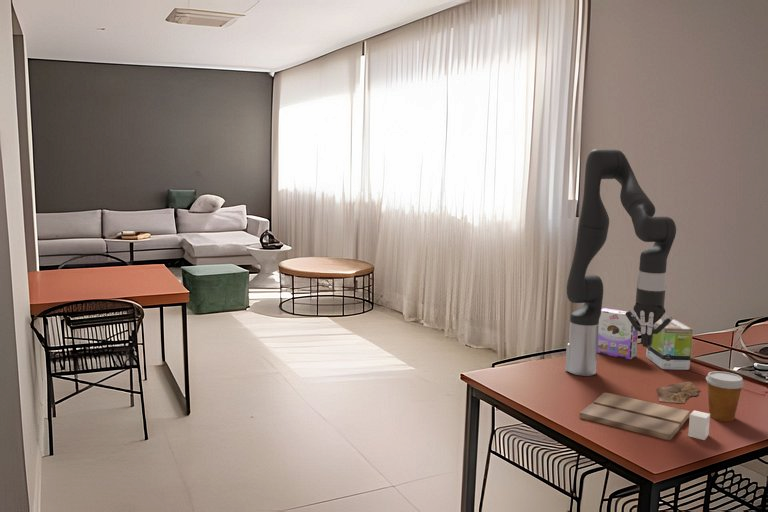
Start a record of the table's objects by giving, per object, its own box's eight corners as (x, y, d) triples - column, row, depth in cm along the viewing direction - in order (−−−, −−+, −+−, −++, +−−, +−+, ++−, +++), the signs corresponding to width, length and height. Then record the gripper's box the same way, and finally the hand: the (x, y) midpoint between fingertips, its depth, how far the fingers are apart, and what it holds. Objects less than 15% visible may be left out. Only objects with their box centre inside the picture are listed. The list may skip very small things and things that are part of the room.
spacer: (688, 436, 174) (689, 414, 173) (692, 431, 177) (693, 410, 177) (704, 440, 172) (706, 418, 171) (708, 435, 175) (710, 413, 174)
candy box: (637, 356, 245) (640, 313, 242) (630, 360, 240) (633, 315, 238) (601, 349, 254) (603, 307, 251) (594, 352, 250) (596, 309, 247)
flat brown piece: (679, 408, 195) (679, 404, 195) (642, 398, 202) (642, 395, 202) (711, 388, 213) (711, 384, 213) (676, 380, 221) (676, 376, 220)
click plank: (593, 406, 194) (593, 401, 194) (604, 397, 201) (604, 392, 201) (680, 427, 180) (681, 422, 179) (689, 416, 187) (689, 411, 186)
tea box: (690, 370, 229) (694, 328, 227) (661, 369, 230) (664, 328, 227) (672, 357, 244) (675, 318, 242) (645, 357, 244) (647, 317, 242)
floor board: (579, 418, 186) (579, 412, 186) (592, 407, 194) (592, 402, 193) (669, 440, 171) (670, 434, 171) (680, 428, 179) (680, 423, 179)
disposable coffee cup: (739, 426, 181) (743, 384, 179) (700, 419, 186) (704, 377, 184) (741, 415, 189) (745, 374, 187) (705, 408, 194) (708, 368, 192)
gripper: (623, 285, 189) (618, 344, 192) (671, 292, 181) (666, 354, 184) (631, 282, 195) (627, 339, 198) (679, 288, 187) (674, 348, 190)
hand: (646, 346), depth 191 cm, fingers closed
